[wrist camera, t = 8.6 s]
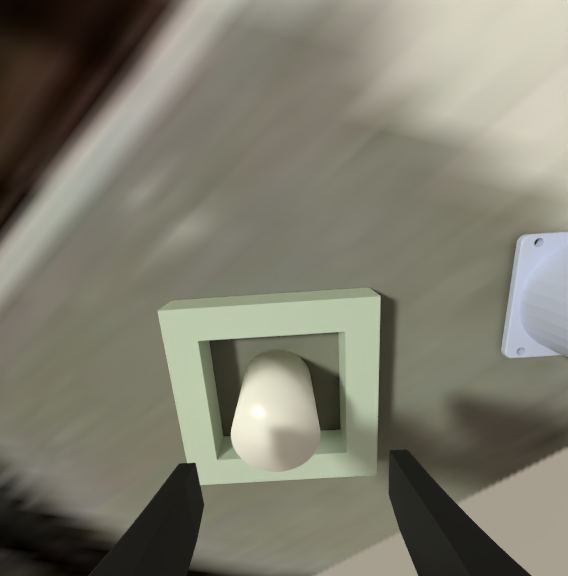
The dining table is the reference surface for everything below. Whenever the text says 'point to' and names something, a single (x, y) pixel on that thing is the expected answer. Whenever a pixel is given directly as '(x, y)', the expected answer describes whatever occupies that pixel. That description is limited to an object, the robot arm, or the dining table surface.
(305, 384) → the white egg shape
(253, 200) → the dining table surface
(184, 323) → the holder
